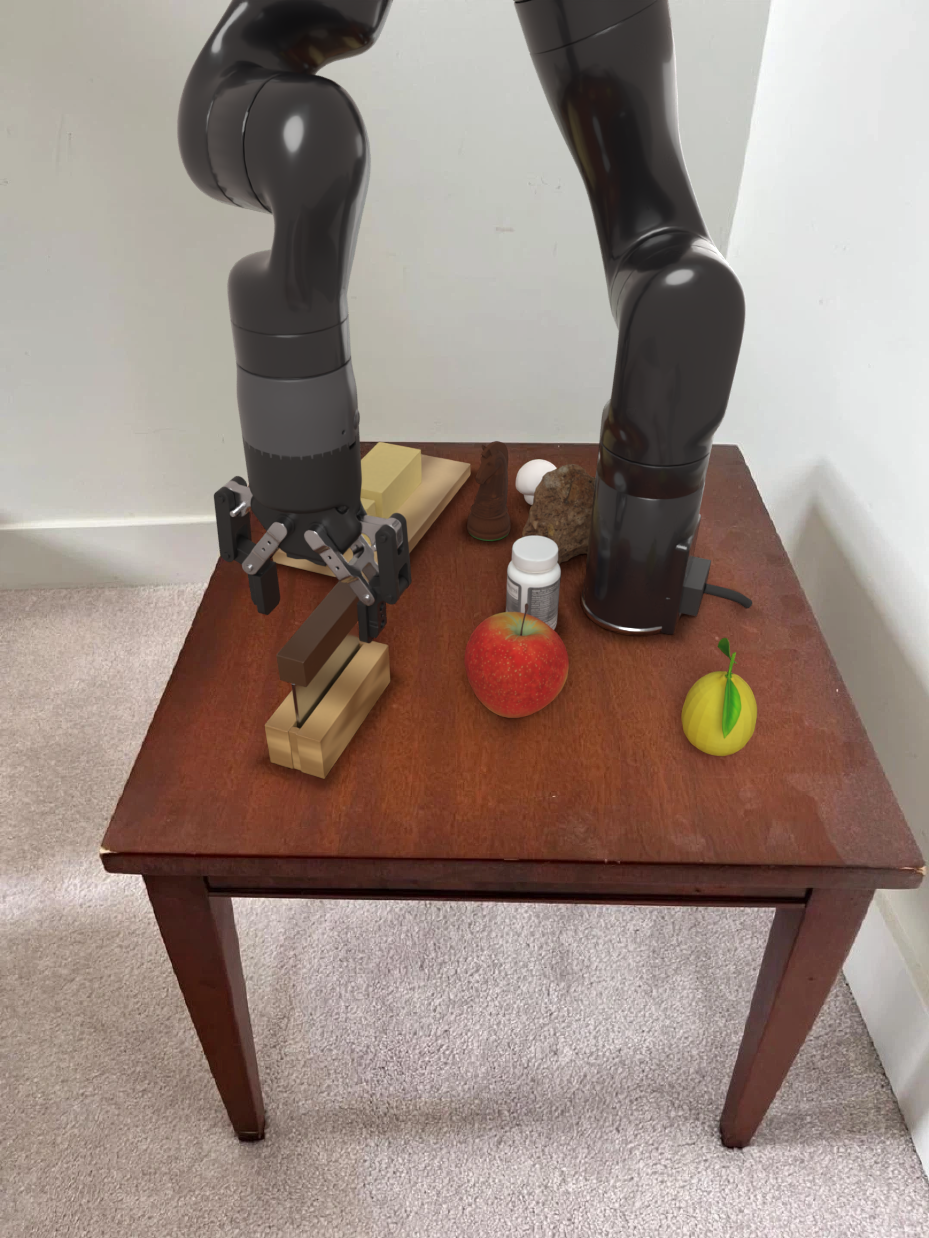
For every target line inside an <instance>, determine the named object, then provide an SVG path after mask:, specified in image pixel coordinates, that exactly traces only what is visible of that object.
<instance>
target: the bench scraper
mask: <svg viewBox="0 0 929 1238" xmlns="http://www.w3.org/2000/svg"><path fill="white" fill-rule="evenodd" d="M358 601H359V598H358V597H357V596H356V594H355V593H354V592H353V590H352V589H351V588H350V586H349V585H348V584H347V583H342V582H340V581H339V580H338V581H337V583H336V584H335V585H334V586H333V588H332V589H331V590H330V591H329V592H328V594H326V595H325V597H324V598H323V599H322V600H321V602H320V603H319V604H318V605H317V606H316V608H314V610H313V611H312V612H311V613H310V615H309V616H308V617H307V618H306V620H304V622H302V624H301V625H300V626H299V628H298V629H297V630H296V631H295V632H294V634H292V636H291V637H290V639H288V640H287V642H286V643H285V644H284V645H283V646H282V648H281V649H280V650H278V652H277V653H276V655H275V656H276V663H277V671H278V678H279V680H280V681H282V682H285V683H289V684H290V685H291V691H292V693H293V700H294V707H295V715H296V722H297V728H300V729H301V727H302V726H303V725H304V723H305V722H306V721H307V719H308V718H309V717H310V715H311V714H312V713H313V711H314V710H315V709H316V707H317V706H318V705H319V703H320V702H321V700H322V699H323V698H324V696H325V695H326V694H327V692H328V691H329V690H330V688H331V687H332V686H333V684H334V683H335V682H336V680H337V679H338V678H339V676H340V675H341V674H342V672H343V671H344V670H345V668H346V667H347V666H348V664H349V663H350V662H351V660H352V659H353V658H354V656H355V655H356V654H357V652H358V651H359V628H358V613H357V603H358Z"/></svg>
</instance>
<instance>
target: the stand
mask: <svg viewBox="0 0 929 1238" xmlns="http://www.w3.org/2000/svg"><path fill="white" fill-rule="evenodd" d="M389 650H390V647H389V645H388V644H386V643H383V642H382V643H381V642H378V641H374V640H372V642H371V643H365V642H361V641H360V640H359V651H358V652H357V654H356V655H355V656H354V658H353V659H352V660H351V662H350V663H349V664H348V666H347V667H346V668H345V670H344V671H343V672H342V674H341V675H340V676H339V678H338V679H337V680H336V682H335V683H334V684H333V686H332V687H331V688H330V690H329V691H328V692H327V694H326V695H325V696H324V698H323V699H322V700H321V702H320V703H319V705H318V706H317V707H316V709H315V710H314V711H313V713H312V714H311V715H310V717H309V718H308V719H307V721H306V722H305V723H304V725H303V726H302V727H301V729H300V728H297V722H296V715H295V707H294V700H293V693H292V690H290V692H289V693H288V695H286V697H285V698H284V700H283V701H282V702H281V703H280V705H278V707H277V709H276V710H275V711H274V713H272V715H271V716H270V717H269V719H268V720H267V721H266V722H265V724H264V733H265V738H266V743H267V750H268V756H269V761H270V763H272V764H275V765H278V766H281V767H285V768H288V769H291V770H292V769H295V770H298V771H300V772H301V773H304V774H307V775H310V776H314V777H317V778H320V779H324V780H325V779H326V778H327V776H328V775H329V773H330V771H331V770H332V768H333V767H334V765H335V764H336V763H337V761H338V759H339V758H340V757H341V755H342V753H343V752H344V751H345V749H346V748H347V747H348V745H349V743H350V742H351V740H352V739H353V738H354V736H355V734H356V733H357V732H358V731H359V729H360V727H361V726H362V724H363V723H364V721H365V720H366V718H367V716H368V715H369V714H370V712H371V711H372V709H373V708H374V706H375V705H376V704H377V702H378V700H379V699H380V698H381V696H382V694H383V693H384V691H385V690H386V689H387V687H388V685H389V684H390V683H391V669H390V667H391V666H390V651H389Z"/></svg>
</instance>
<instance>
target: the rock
mask: <svg viewBox="0 0 929 1238" xmlns="http://www.w3.org/2000/svg"><path fill="white" fill-rule="evenodd" d="M556 468H557V469H555V470H552V471H550V472H547V473H546V474H545V475H544V476H543V477H542V480H541V482H540V483H539V484H538V486H537V487H536V489H535V493H534V498H533V505H530V507H529V511H528V517H527V520H526V522H525V525H524V527H523V529H522V533H521V535H522V537H526V536H543V537H546V538H549V539H551V540H553V541H554V542H555V543H556V544H557V546H558V561H557V563H558V564H559V566H560V565H561V564H562V563H564V562H569V560H570V559H572V558H574V557H577V556H579V555H584V554H586V555H587V551H588V541H589V532H590V523H591V514H592V505H593V495H594V486H595V477H596V476H592V475H591V474H589V473H588V472H587V470H586V469H585V467H581V465H579V464H575V463H567V464H564V465H563V464H562V465H561V466H560V467H556ZM522 537H521V538H522Z"/></svg>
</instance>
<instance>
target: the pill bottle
mask: <svg viewBox="0 0 929 1238" xmlns="http://www.w3.org/2000/svg"><path fill="white" fill-rule="evenodd" d="M557 561H558V546H557V544H556V543H555V542H554V541H553V540H551V539H549V538H546V537H543V536H526V537H521V538H518V539H516V540H515V541H514V542H513V544H512V548H511V560H510V562H509V563H508V565H507V569H506V593H505V594H506V595H505V612H521V613H525V604H526V603H527V604H528V606H529V607H528V610H527V613H526V614H528V615H531V616H534V617H536V618H538V619H540V620H541V621H543V622H544V623H546V624H547V625H549V626H550V627H551V628H552V629H553V630H554V631H555V629H556V627H557V624H558V613H559V612H558V611H559V601H560V587H561V577H562V570H561V566H560V565H559V564H558V563H557Z"/></svg>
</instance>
